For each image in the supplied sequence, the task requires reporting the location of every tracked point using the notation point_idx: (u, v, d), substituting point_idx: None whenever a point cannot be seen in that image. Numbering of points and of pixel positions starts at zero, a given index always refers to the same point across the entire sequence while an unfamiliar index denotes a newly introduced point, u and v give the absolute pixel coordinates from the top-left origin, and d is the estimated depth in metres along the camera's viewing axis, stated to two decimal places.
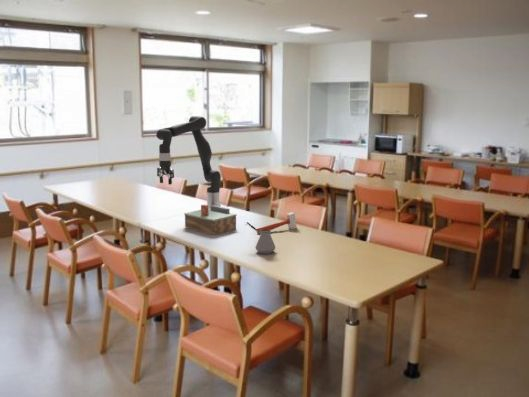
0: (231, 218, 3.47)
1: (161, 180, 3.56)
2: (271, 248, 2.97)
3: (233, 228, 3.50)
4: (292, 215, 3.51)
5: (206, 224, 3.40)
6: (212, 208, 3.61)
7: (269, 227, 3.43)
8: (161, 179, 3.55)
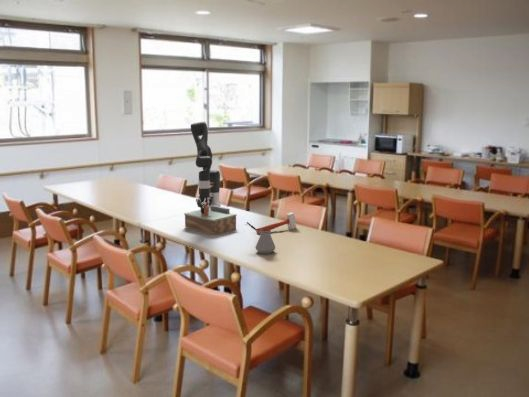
0: (231, 218, 3.47)
1: None
2: (271, 248, 2.97)
3: (233, 228, 3.50)
4: (292, 215, 3.51)
5: (206, 224, 3.40)
6: (212, 208, 3.61)
7: (269, 227, 3.43)
8: None
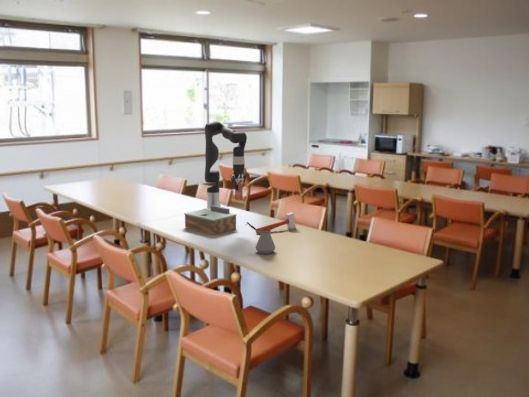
0: (231, 218, 3.47)
1: None
2: (271, 248, 2.97)
3: (233, 228, 3.50)
4: (291, 215, 3.51)
5: (206, 224, 3.40)
6: (212, 208, 3.61)
7: (268, 227, 3.43)
8: None
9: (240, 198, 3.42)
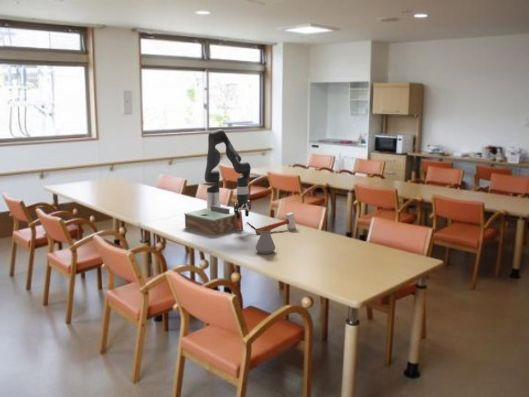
0: (231, 218, 3.47)
1: None
2: (271, 248, 2.97)
3: (233, 228, 3.50)
4: (291, 215, 3.51)
5: (206, 224, 3.40)
6: (212, 208, 3.61)
7: (268, 227, 3.43)
8: None
9: (241, 227, 3.48)
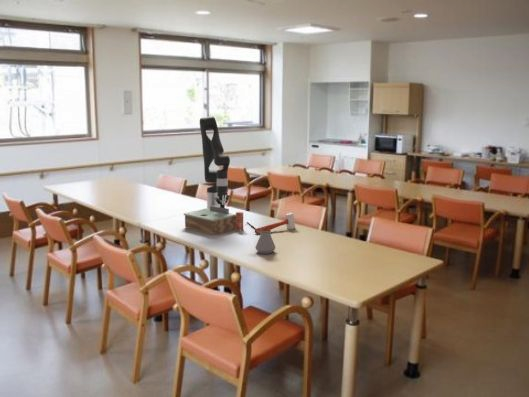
0: (231, 218, 3.47)
1: None
2: (271, 248, 2.97)
3: (233, 228, 3.50)
4: (290, 215, 3.51)
5: (206, 224, 3.40)
6: (211, 208, 3.60)
7: (267, 227, 3.43)
8: None
9: (241, 228, 3.48)
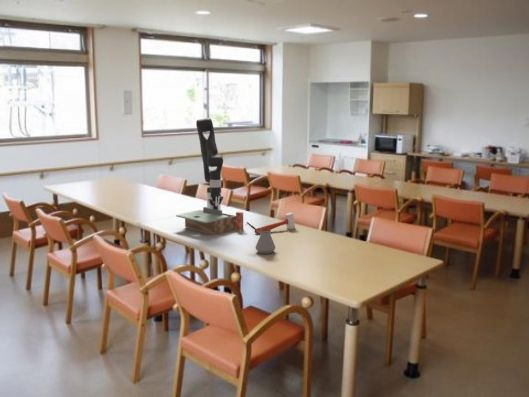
0: (231, 218, 3.47)
1: None
2: (271, 248, 2.97)
3: (233, 228, 3.50)
4: (290, 215, 3.51)
5: (206, 224, 3.40)
6: (205, 210, 3.56)
7: (267, 227, 3.43)
8: None
9: (241, 228, 3.48)
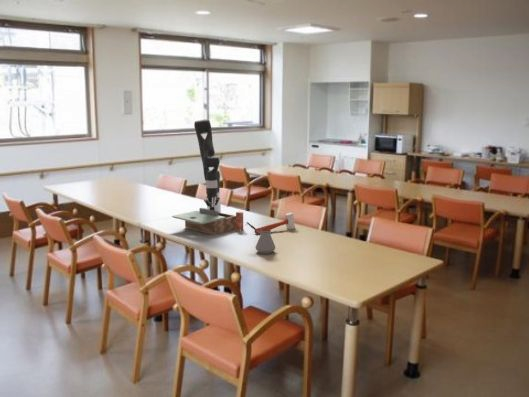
0: (231, 218, 3.47)
1: None
2: (271, 248, 2.97)
3: (233, 228, 3.50)
4: (290, 215, 3.51)
5: (206, 224, 3.40)
6: (201, 210, 3.53)
7: (267, 227, 3.43)
8: None
9: (241, 228, 3.48)
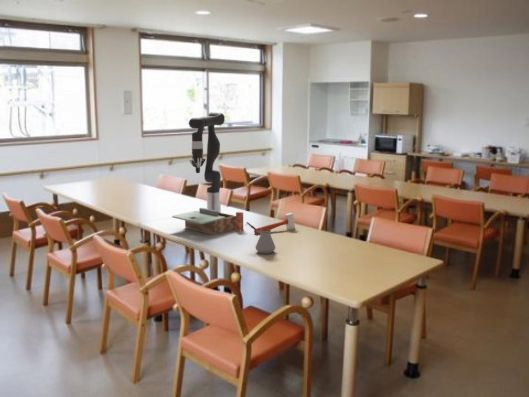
0: (231, 218, 3.47)
1: None
2: (271, 248, 2.97)
3: (233, 228, 3.50)
4: (290, 215, 3.50)
5: (206, 224, 3.40)
6: (201, 210, 3.53)
7: (267, 227, 3.42)
8: None
9: (241, 228, 3.48)
